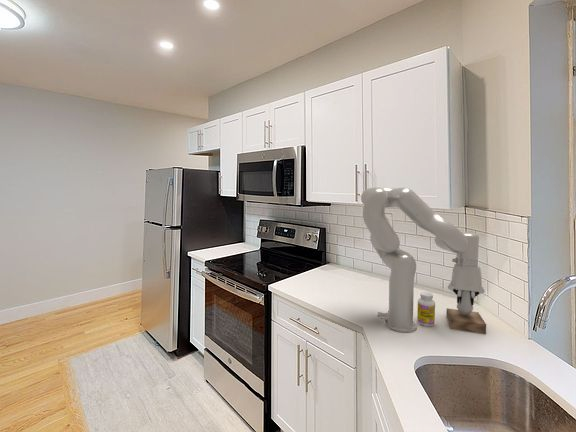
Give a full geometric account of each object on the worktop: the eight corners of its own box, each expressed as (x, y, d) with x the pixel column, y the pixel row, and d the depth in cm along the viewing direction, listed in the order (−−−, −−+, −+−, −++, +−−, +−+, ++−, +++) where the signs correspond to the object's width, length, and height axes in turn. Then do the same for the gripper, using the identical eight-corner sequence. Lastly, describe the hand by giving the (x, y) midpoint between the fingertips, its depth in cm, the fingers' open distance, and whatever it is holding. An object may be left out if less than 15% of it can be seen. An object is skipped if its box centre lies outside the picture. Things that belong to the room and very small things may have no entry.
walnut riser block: (450, 329, 113) (451, 319, 113) (446, 317, 124) (446, 308, 124) (485, 334, 108) (486, 324, 108) (478, 321, 119) (478, 312, 119)
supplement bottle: (417, 325, 116) (418, 295, 115) (416, 318, 122) (417, 290, 122) (435, 328, 114) (436, 297, 113) (433, 321, 120) (434, 292, 119)
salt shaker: (466, 309, 119) (468, 280, 118) (476, 315, 113) (477, 284, 112) (453, 310, 119) (454, 280, 118) (462, 315, 113) (463, 284, 112)
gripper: (445, 262, 114) (444, 306, 115) (493, 266, 108) (491, 312, 109) (443, 258, 121) (441, 299, 122) (487, 262, 115) (485, 305, 116)
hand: (465, 305), depth 116 cm, fingers closed on salt shaker, 3 cm apart
